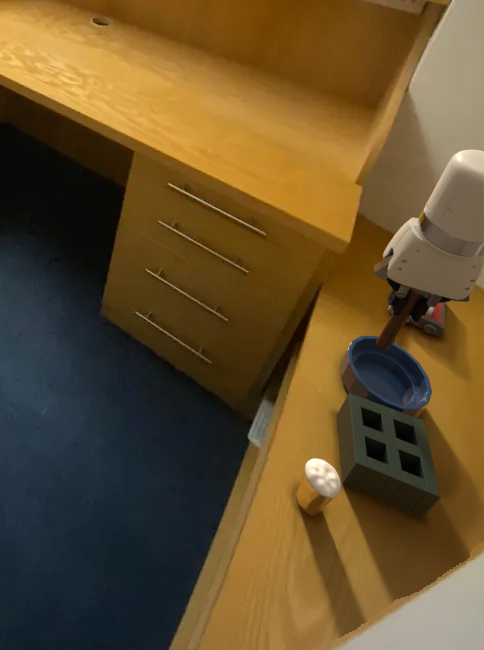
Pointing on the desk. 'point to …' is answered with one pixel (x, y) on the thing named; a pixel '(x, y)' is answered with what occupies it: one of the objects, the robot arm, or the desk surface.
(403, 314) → the stick
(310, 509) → the beer glass
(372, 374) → the bowl
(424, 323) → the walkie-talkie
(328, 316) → the desk surface
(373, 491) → the holder
